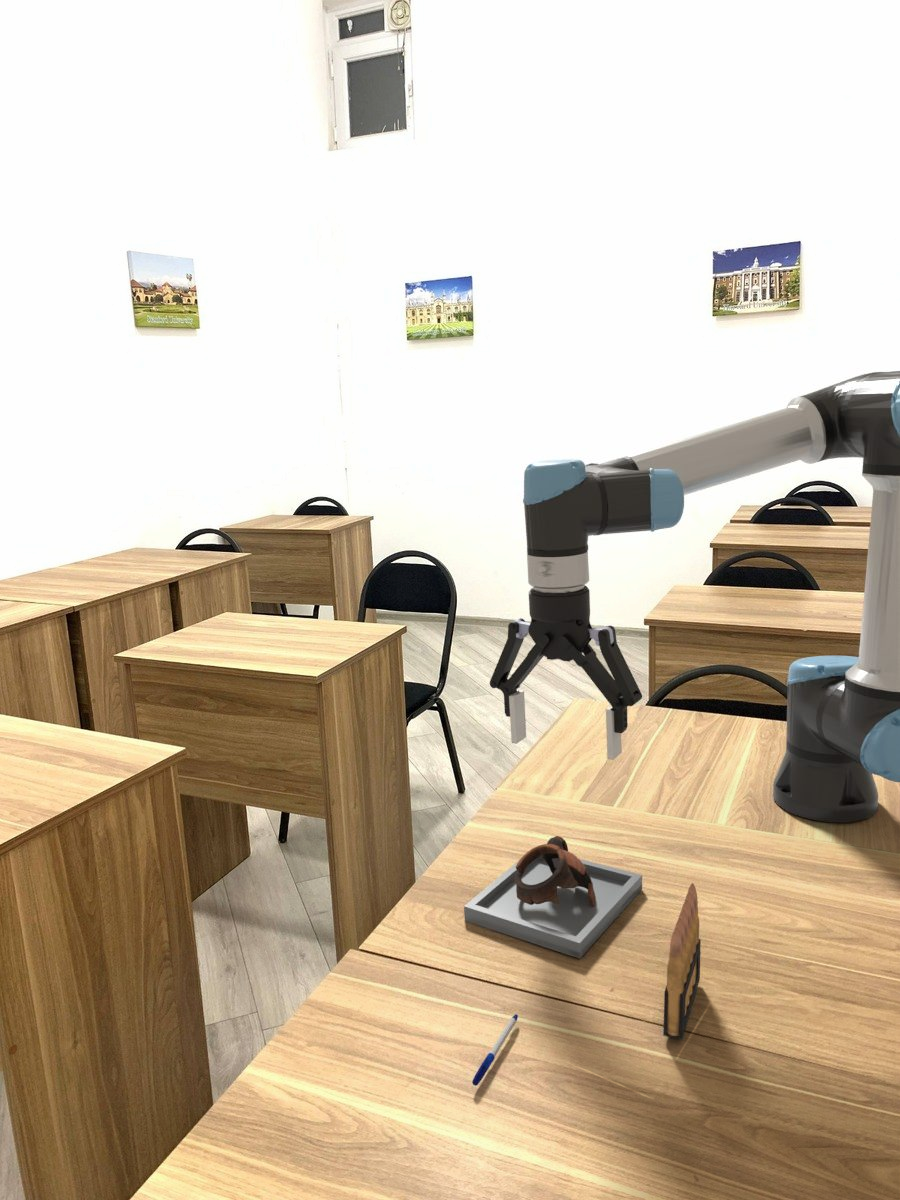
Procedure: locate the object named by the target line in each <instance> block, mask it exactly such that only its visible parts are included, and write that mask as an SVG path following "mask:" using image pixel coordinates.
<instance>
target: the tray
mask: <svg viewBox="0 0 900 1200" xmlns="http://www.w3.org/2000/svg"><path fill="white" fill-rule="evenodd" d="M577 858H578V857H577ZM578 859H579V860H580V861H581V862H582V863H583V864H584V866H585V868H586V869H587V871H588V873H589V875H590V878H591V881H592V883H593V889H594V892H595V896H596V903H595V906H594V907H592V906H591V904H590V899H589V898H588V896H587V893H588V889H586V888H584V887H580V886H579V887H578V886H577V887H576V888H565V889H564V888H561V887H559V886H557V895H558V896H557V897H558V901H559V904H556V903H553V902H545V903H542V904H535V903H534V904H533V905H529V904H527V903H524V902H522V901H521V900H519V899H518V898H517V893H516V883H515V881H514V877H515V875H516V874H517V873H518V874H519V871H518V870H517V869H516V865H517V863H518V862H519V860H517V861H516V862H515V863H514V864H513V865H512V866H510V867H509V868H508V869H507V870H506V871H505V872H503V873H502V874H501V875H500V876H499V877H497V878H496V879H495V880H494V881H493V882H491V883H490V884H489V885H488V886H486V888H484V889H483V890H481V891H480V892H479V893H478V894H477V895H476V896H475V897H473V898H472V899H471V900H469V902H467V903H466V904H465V905H463V912H464V922H468V923H471V924H473V925H476V926H479V927H483V928H485V929H488V930H491V931H494V932H498V933H501V934H503V935H506V936H510V937H512V938H513V937H514V938H516V939H519V940H522V941H526V942H529V943H531V944H534V945H537V946H541V947H543V948H546V949H549V950H552V951H556V952H558V953H562V954H564V955H567V956H571V957H573V958H576V959H581V958H582V957H583V956H584V955H585V954H586V953H587V952H588V951H589V949H590V948H591V947H592V946H594V944H595V943H596V941H597V940H598V939H600V937H601V936H602V935H603V933H605V931H607V929H608V928H609V927H610V926H611V925H612V923H614V921H615V920H616V919H617V918H619V916H620V915H621V914H622V913H623V912H624V910H625V909H626V908H627V907H628V906H629V905H630V904H631V902H632V901H633V900H634V899H635V898H636V896H637V895H639V893H640V892H641V891H642V890H643V875H642V874H640V873H635V872H631V871H628V870H624V869H620V868H618V867H617V868H616V867H614V866H613V867H612V866H609V865H605V864H601V863H597V862H595V861H594V862H593V861H590V860H586V859H584V858H583V859H582V858H580V857H579V858H578ZM551 875H552V872H551V870H550V868H549V866H548V864H547V863H546V862H545V860H544V859H543V858H542V855H540V857H538V858H536V859H535V860H534V861H533V862H531V863H530V864H529V865H528V867H527V868H526V869H525V871H524V872H523V875H522V877H521V880H522V882H523V883H525V884H528V885H534V884H538V883H541V882H543V881H545V880H547V879H548V878H549V877H550V876H551Z"/></svg>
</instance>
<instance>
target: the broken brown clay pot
mask: <svg viewBox="0 0 900 1200" xmlns="http://www.w3.org/2000/svg"><path fill="white" fill-rule="evenodd" d="M540 855H542V858H543V859H544V860H545V862H546V863H547V864H548V866H549V868H550V870H551V872H552V875H551V876H550V877H549V878H548V879H547V880H545V881H543V882H541V883H538V884H534V885H528V884H525V883H523V882H522V880H521V877H522V875H523V872H524V871H525V869H526V868H527V867H528V865H529V864H530V863H531V862H533V861H534V860H535V859H536V858H538V857H540ZM579 859H580V858H579ZM579 859H578V857H577V855H576V854H574V853H572V852H570V851H569V847H568V843H567V842H566V840H565V839H564V837H561V836H559V835H555V836H553V837H551V838H549V839H548V841H547V842H546V843H544V844H540V845H537V846H534V847H533V848H531V849H529V851H527V852H526V853H525V854H523V856H522V857H521V858H520V859H519V860H518V861H519V862H518V861H517V862H518V863H517V862H516V863H517V865H516V869H517V870H518V871H519V874H518V873H517V874H516V875H515V877H514V881H515V883H516V893H517V898H518V899H519V900H521V901H522V902H524V903H527V904H529V905H533V904H534V903H535V904H542V903H545V902H553V903H556V904H559V901H558V897H557V896H558V895H557V886H559V887H561V888H564V889H565V888H576V887H577V886H578V887H579V886H580V887H584V888H586V889H588V893H587V896H588V898H589V899H590V904H591V906H592V907H594V906H595V903H596V896H595V892H594V889H593V883H592V881H591V878H590V875H589V873H588V871H587V869H586V868H585V866H584V864H583V863H582V862H581V861H580V860H579Z"/></svg>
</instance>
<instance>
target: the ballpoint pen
mask: <svg viewBox="0 0 900 1200" xmlns="http://www.w3.org/2000/svg"><path fill="white" fill-rule="evenodd" d="M518 1018H519V1015H518V1014H517V1013H516V1014H514V1015H513V1016H512V1017H511V1018H510V1020H509V1021H508V1022H507V1024H506V1026H505V1027H504V1029H503V1031H502V1032H501V1034H500V1036H499V1037H498V1039H497V1040H496V1042H495V1044H494V1045H493V1047H492V1049H490V1052H489V1053H488V1054H487V1055H486V1056H485V1058H484V1060H483V1062H482V1063H481V1065H479V1067H478V1069H477V1071H476V1073H475V1074H474V1076H473V1079H472V1082H471V1083H472V1085H473V1086H478V1084H480V1083H481V1081H482V1080H483V1078H484V1076H485V1075H486V1074H487V1071H488V1070H489V1068H490V1067H491V1065H492V1064H493V1062H494V1060H495V1058H496V1055H497V1054H498V1052H499V1051H500V1049H501V1048H502V1047H503V1044H504V1043H505V1041H506V1039H507V1037H508V1036H509V1034H511V1031H512V1030H513V1028H514V1026H515V1025H516V1023H517V1021H518Z"/></svg>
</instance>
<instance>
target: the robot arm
mask: <svg viewBox="0 0 900 1200" xmlns="http://www.w3.org/2000/svg"><path fill="white" fill-rule="evenodd" d="M840 458H841V459H842V458H843V459H844V458H845V459H846V458H858V459H859V458H860V459H862V468H861V470H862V472H861V473H862V474H861V476H862V477H863V478H864V480H866V481H867V482H868V484H870V486H871V487H872V491H873V492H872V499H871V500H872V501H871V511H870V513H871V514H870V523H869V525H870V526H869V533H868V534H869V535H868V547H867V556H866V557H867V558H866V559H867V560H866V570H865V579H864V580H865V581H864V591H863V594H864V596H863V603H862V604H863V605H862V615H861V616H862V617H861V627H860V638H859V640H860V641H859V650H858V656H854V655H853V656H852V655H818V656H817V655H815V656H808V657H802V658H799V659H797V660H794V661H793V662H792V663H790V666H789V668H788V675H787V681H786V686H787V697H786V699H787V701H786V704H787V705H786V706H787V707H786V741H785V742H786V745H785V753H784V756H783V757H782V760H781V763H780V766H779V768H778V769H777V770H778V771H777V773H776V775H775V777H774V780H773V784H772V785H773V788H772V798H773V797H774V799H773V801H774V800H775V801H776V803H777V804H778V805H779V806H778V805H777V804H776V805H777V806H778V807H780V806H781V807H782V808H783V810H784V809H785V810H784V811H786V810H787V811H786V812H788V811H789V812H788V813H790V812H791V813H790V814H792V813H793V814H792V815H795V816H797V815H798V817H801V818H803V819H809V820H812V821H813V820H814V821H819V822H827V823H853V822H859V821H862V820H865V819H866V820H867V819H868V818H870V817H872V816H874V815H876V813H877V812H878V808H879V792H878V787H877V785H876V782H875V779H874V778H875V777H874V775H876V776H878V777H882V778H883V779H886V780H887V781H891V782H894V783H900V370H894V371H875V372H868V373H863V374H860V375H857V376H854V377H851V378H848V379H846V380H843V381H840V382H837V383H835V384H832V385H829V386H827V387H824V388H820V389H817V390H816V391H815V390H814V391H813V392H810V393H807V394H803V395H800V396H797V397H795V398H792V399H791V400H790V401H789V402H788V404H787V405H786V407H785V408H782V409H779V410H776V411H771V412H769V413H766V414H762V415H759V416H756V417H752V418H749V419H746V420H745V419H744V420H742V421H738V422H735V423H732V424H729V425H725V426H722V427H718V428H715V429H713V430H709V431H705V432H702V433H699V434H695V435H692V436H688V437H685V438H682V439H678V440H676V441H671V442H669V443H665V444H662V445H659V446H655V447H652V448H649V449H645V450H642V451H638V452H636V453H632V454H628V455H626V456H623V457H618V458H616V459H612V460H608V461H605V462H601V463H593V462H590V463H587V464H585V462H584V461H583V460H581V459H574V458H571V459H551V460H547V459H546V460H539V461H534V462H531V463H530V464H528V465H527V466H526V468H525V469H524V472H523V500H522V504H523V505H524V507H523V508H524V518H525V519H524V520H525V534H526V535H525V536H526V538H525V539H526V562H527V579H528V580H527V583H528V584H529V586H530V587H531V588H530V590H529V591H528V607H529V617H530V622H527V621H525V619H524V618H521V617H520V618H518V619H516V620H514V621H512V622H509V623H508V625H507V639H506V641H505V644H504V647H503V648H502V651H501V654H500V656H499V658H498V660H497V663H496V665H495V668H494V670H493V673H492V676H491V678H490V681H489V686H490V687H491V688H492V689H498V690H499V691H501V692H502V694H503V703H504V704H503V705H504V714H505V717H507V718H509V720H510V721H509V722H510V737H511V738H510V740H511V744H514V745H515V744H518V743H520V742H521V741H523V740H524V739H526V738H527V725H526V720H527V719H526V706H525V705H526V703H525V702H526V701H525V690H521V689H519V688H520V687H521V685H522V683H523V682H524V681H525V680H526V679H527V677H528V676H529V675H530V674H531V672H532V671H533V670H534V669H535V667H536V666H537V665H538V664H539V663H540V661H541V660H542V659H543V658H544V657H545V658H546V659H547V660H551V661H554V660H560V661H563V662H569V663H570V662H571V661H574V663H575V664H576V665H577V666H578V667H580V668H582V670H583V671H584V672H585V673H586V675H587V676H588V678H589V679H590V680H591V681H592V682H593V684H594V685H595V687H596V688H597V689H598V690H599V692H600V693H601V695H602V696H603V697H604V698H605V699H606V700H607V702H608V703H609V706H608V707H607V708H605V722H606V723H605V725H606V726H605V728H606V730H605V731H606V755H607V757H606V758H607V760H610V761H615V759H616V758H617V757H618V756H620V755H621V754H622V753H623V752H622V751H623V749H622V734H623V733H625V731H627V729H628V727H629V725H628V707H633V706H634V705H636V704H637V703H638V702H640V701H641V700H642V698H643V694H642V692H641V689H640V688H639V685H638V683H637V681H636V680H635V678H634V676H633V675H634V674H632V672H631V669H630V667H629V665H628V664H627V661H626V659H625V657H624V655H623V653H622V650H621V649H620V647H619V645H618V642H617V636H616V635H617V634H616V629H615V627H614V626H613V625H607V626H606V627H602V628H593V627H592V625H591V622H590V621H591V619H590V617H591V601H590V600H591V597H590V595H591V594H590V588H589V587H588V586H587V584H588V583H589V582H590V568H589V545H588V544H589V543H588V541H589V536H600V535H612V534H623V533H637V532H648V531H650V532H652V533H653V532H655V531H658V530H665V529H671V528H673V527H675V526H677V525H678V523H679V522H680V521H681V519H682V517H683V515H684V514H683V513H684V509H685V495H689V494H692V493H696V492H698V491H699V492H700V491H702V490H706V489H708V488H712V487H715V486H718V485H722V484H724V483H728V482H732V481H735V480H738V479H741V478H744V477H745V478H746V477H749V476H751V475H756V474H759V473H761V472H764V471H768V470H771V469H775V468H778V467H782V466H784V465H787V464H791V463H794V462H798V461H802V462H803V463H806V464H808V465H810V464H817V463H819V462H822V461H826V460H831V459H840ZM528 635H529V636H530V637H531V639H532V640H533V642H534V645H533V646H532V647H531V649H530V650H529V651H528V653H527V655H526V656H525V658H524V659H523V661H522V662H520V664H519V665H518V667H517V668H515V670H514V672H513V673H512V674H511V675H510V673H511V671H512V669H513V667H514V664H515V662H516V659H517V657H518V654H519V651H520V649H521V647H522V645H523V643H524V640H525V638H526V637H527V636H528ZM592 640H594V642H595V645H596V646H598V647H599V648H600V652H601V655H602V658H603V659H604V661H605V663H606V665H607V667H608V669H609V671H608V670H607V668H606V667H605V666H604V665H603V663H602V662H601V661H600V660H599V658H598V657H597V653H596V651H595V650H594V648H593V647H592V646H591V644H590V642H591V641H592ZM509 675H510V676H509ZM518 689H519V690H518ZM775 801H774V802H775ZM781 807H780V808H781ZM782 808H781V809H782Z"/></svg>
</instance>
